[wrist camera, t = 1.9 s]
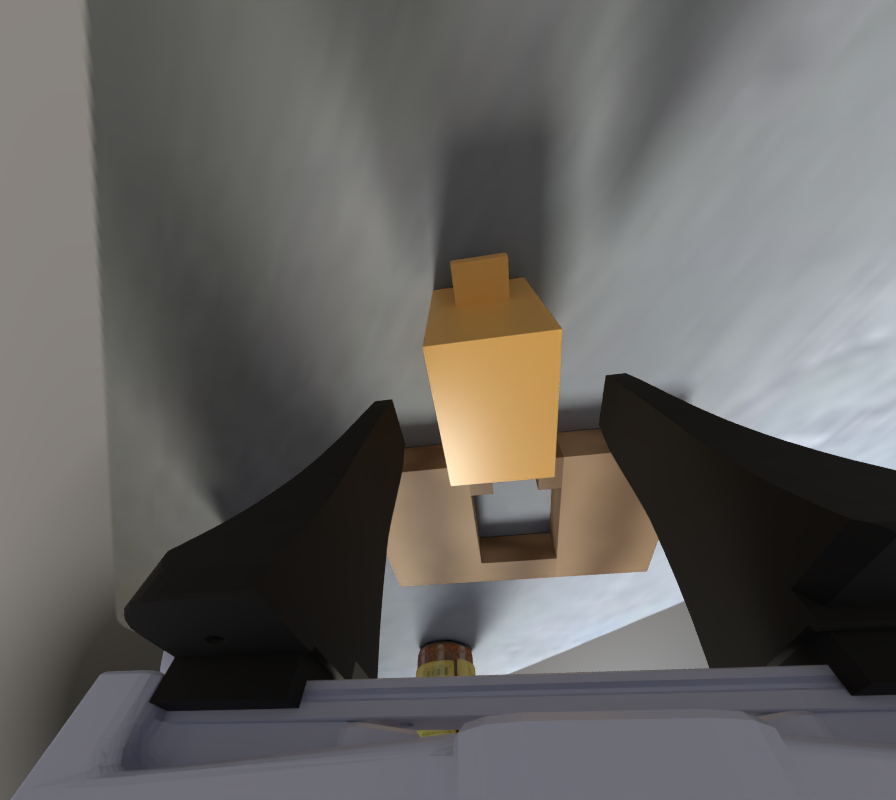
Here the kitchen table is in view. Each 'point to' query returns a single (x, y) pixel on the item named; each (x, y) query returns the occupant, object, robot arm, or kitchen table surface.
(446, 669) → the sauce bottle
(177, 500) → the kitchen table surface
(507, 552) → the pocket board
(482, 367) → the block
